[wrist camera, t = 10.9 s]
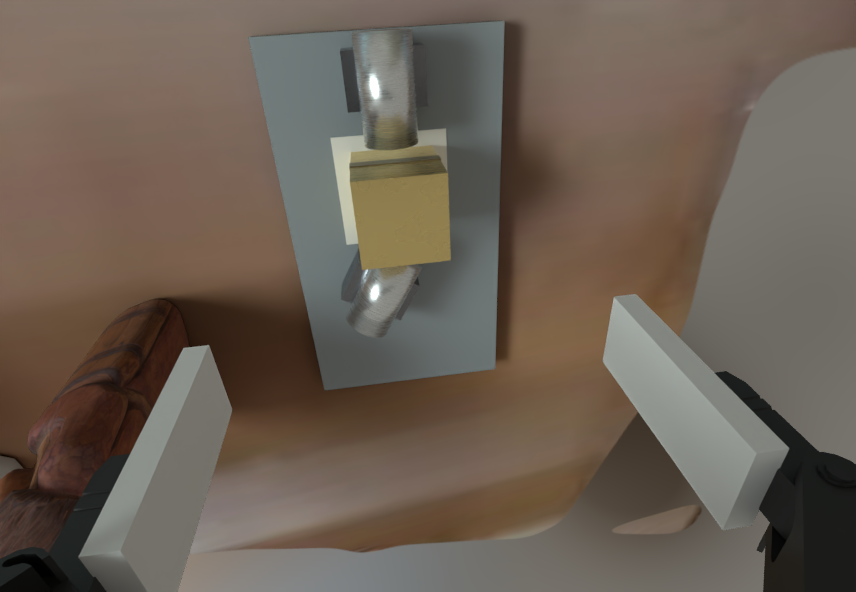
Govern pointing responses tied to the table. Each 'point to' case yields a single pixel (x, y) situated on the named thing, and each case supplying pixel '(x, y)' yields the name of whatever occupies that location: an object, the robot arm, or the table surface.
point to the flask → (8, 465)
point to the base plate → (333, 208)
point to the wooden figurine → (90, 422)
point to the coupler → (400, 206)
